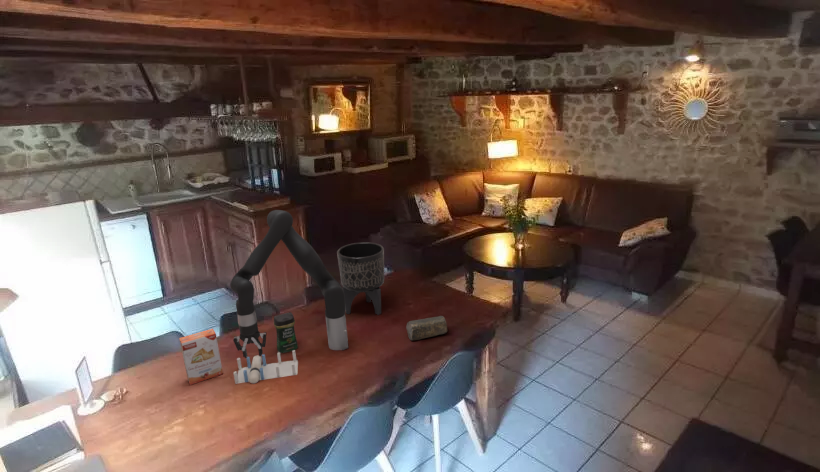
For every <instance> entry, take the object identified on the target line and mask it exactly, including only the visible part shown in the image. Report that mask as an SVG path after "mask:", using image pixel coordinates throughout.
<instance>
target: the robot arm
mask: <svg viewBox="0 0 820 472" xmlns="http://www.w3.org/2000/svg"><path fill="white" fill-rule="evenodd" d="M266 217H267V218H266V223H267V226H268V227H269V229H268V231H267V232H266V235H264V237H263V238H262V240H261V242H259V243H258V244H257V246H256V247H255V248H254V249H253V251H252V252H251V253H250V254H249V257H248V258H247V260H246V261H245V262H244V265H243V266H241V268H240V269H239V270H238V271H237V272H236V274H235V275H234V276H233V277H232V279H231V281H230V289H231V291H232V292H234V294H235V293H236V294H237V298H238V299H237V300H236V302H235V307H236V313H237V324H238V329H239V335H238V336H237V335H235V336H234V337H233V343H234V345H235V347H236V350H237V351H241V352H242V355H243V358H244V359H246V358H247V357H248V351H247V348H246V347H247V345H250V344H254V345H255V346H256V347H257V348H258V349H257V351H258V356H261V357H262V355H263V354H264V353H263V348H264V347H266V345H267V344H266V343H267V332H266V331H264V332H260V330H259V325H258V319H257V314H256V310H255V305H254V298H255V288H254V285H253V283H252V281H251V279H252V278H253V277H254V276H255V277H257V276H258V275H259V274H260V273H261V271H262V270H263V268H264V266H265V264H266V262H267V261H268V259H269V258H270V256H271V254H272V253H273V252H274V250H275V248H276V247H277V245H278V244H279V243H280V241H282V242H283V243H284V245H285V247H286V248H287V250H288V251H289V252H290V254H291V255H292V257H293V258H294V260H295V261H296V262H297V263H298V265H299V266H300V267H301V269H302V270H304V272H305V273H306V274H307V275H309V276H310V277H311V278H312V279H313V280H314V282H315V283H316V284H317V286H318V287H319V289H320V291H321V294H322V296H323V298H324V306H325V307H324V308H325V310H324V315H325V323H326V324H325V325H326V333H327V341H328V342H327V343H328V348H329V349H330V350H333V351H344V350H346V349H349V341H348V340H349V339H348V338H349V337H348V330H347V329H348V328H347V319H346V318H347V317H346V312H345V295H344V291H343V289H342V287H343V286H342V284H341V283H339V282H338V280H337V279H335V277H334V276H333V275H332V274H331V273H330V272H329V270H328V269H327V267H326V266H325V264H324V262H323V260H322V259H321V257H320V255H319V254H318V253H317V252H316V250H315V248H314V247H313V246H312V245H311V244H310V243H309V242H308V241H307V240H306V239H304V238H303V237H302V236H301V235H300V234H299V233H298V232H297V231H296V229H295V228H294V227H293V223H294V218H293V216H292V214H291V213H290V212H288V211H286V210H282V209H274V210H270V211H269V213H268V214H267V216H266ZM260 337H261V339H262V343H261V341H260V339H259V338H260ZM240 340H241V341H242V343H243V344H242V345H241V343H240Z"/></svg>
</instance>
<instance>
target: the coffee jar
mask: <svg viewBox="0 0 820 472" xmlns="http://www.w3.org/2000/svg"><path fill="white" fill-rule="evenodd" d="M295 323H296V320H295V317H294V314H293V313H292V312H291V311H289V312H285V313H281V314H278V315H274V317H273V326H274V328H275V330H276V350H277V353H278V352H280V354H285V353H289V352H292V350H295V351H296V350H297V349H299V346H298V345H299V344H298V340H297V335H296V330H295Z"/></svg>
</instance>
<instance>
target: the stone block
mask: <svg viewBox="0 0 820 472" xmlns="http://www.w3.org/2000/svg"><path fill="white" fill-rule="evenodd" d="M406 331H407V336H408V338H409V340H410V341H412V342H413V341H419V340H423V339H426V338H431V337H436V336H439V335H445V334H447V332H448V324H447V321H446V318H445V317H444V316H443V315H439V316H433V317H426V318H422V319H421V318H420V319H415V320H414V319H413V320H410V321H408V322H407V323H406Z"/></svg>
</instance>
